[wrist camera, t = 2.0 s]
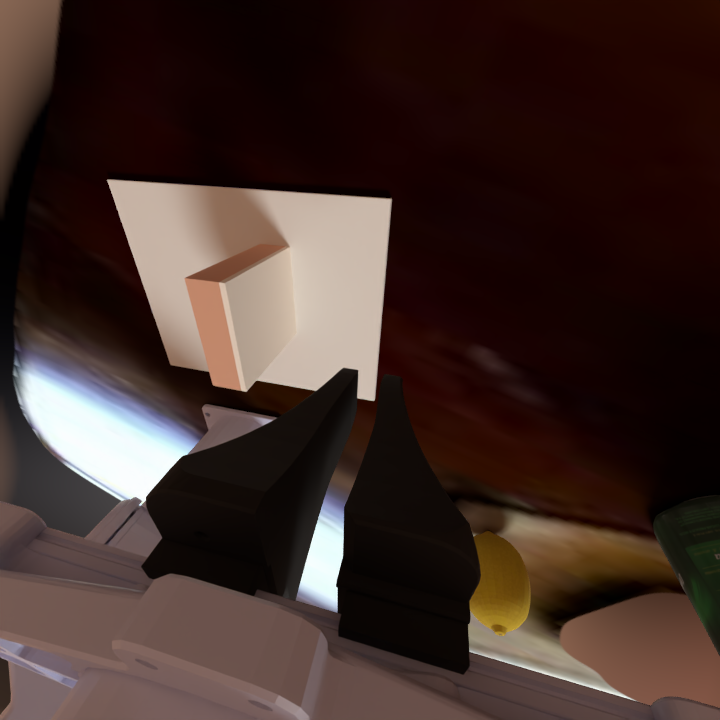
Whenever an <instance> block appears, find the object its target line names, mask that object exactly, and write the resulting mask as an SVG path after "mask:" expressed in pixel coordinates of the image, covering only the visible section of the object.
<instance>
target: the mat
mask: <svg viewBox="0 0 720 720" xmlns="http://www.w3.org/2000/svg"><path fill="white" fill-rule="evenodd" d="M107 181H108V184H109V187H110V189H111V192H112V195H113V198H114V201H115V204H116V207H117V210H118V213H119V216H120V219H121V222H122V224H123V227H124V230H125V233H126V236H127V239H128V242H129V245H130V248H131V251H132V254H133V257H134V259H135V262H136V265H137V268H138V271H139V274H140V277H141V280H142V283H143V286H144V289H145V292H146V294H147V297H148V300H149V303H150V306H151V309H152V312H153V315H154V318H155V321H156V324H157V327H158V329H159V332H160V335H161V338H162V341H163V344H164V347H165V350H166V353H167V356H168V359H169V362H170V364H171V365H173V366H179V367H185V368H190V369H196V370H202V371H207V372H209V369H208V365H207V361H206V358H205V354H204V350H203V346H202V343H201V339H200V335H199V331H198V328H197V324H196V320H195V316H194V313H193V309H192V305H191V301H190V298H189V294H188V290H187V286H186V283H185V279H184V278H186V277H188V276H190V275H192V274H194V273H197V272H199V271H201V270H203V269H206V268H208V267H210V266H212V265H214V264H217V263H219V262H221V261H223V260H226V259H228V258H230V257H232V256H234V255H237V254H239V253H241V252H243V251H246V250H248V249H250V248H252V247H254V246H257V245H259V244H266V245H276V246H286V247H290V252H291V265H292V278H293V291H294V304H295V316H296V329H297V333H296V335H295V336H294V337H293V338H292V339H291V340H290V342H289V343H288V344H287V345H286V346H285V347H284V349H283V350H282V351H281V352H280V353H279V354H278V356H277V357H276V358H275V359H274V360H273V361H272V363H271V364H270V365H269V366H268V367H267V368H266V370H265V371H264V372H263V373H262V374H261V375H260V377H259V378H258V379H257V380H258V381H264V382H270V383H275V384H281V385H287V386H292V387H298V388H303V389H309V390H315V391H317V390H318V389H319V388H320V387H321V386H323V385H324V384H325V383H326V382H327V381H329V380H330V379H331V378H332V377H333V376H334V375H335V374H336V373H337V372H339V371H340V370H341V369H342V368H349V369H355V370H358V392H357V398H360V399H366V400H371V401H374V400H375V393H376V381H377V370H378V358H379V346H380V334H381V322H382V310H383V299H384V287H385V275H386V263H387V251H388V240H389V228H390V216H391V204H392V198H377V197H363V196H348V195H333V194H319V193H304V192H289V191H275V190H260V189H245V188H231V187H216V186H201V185H187V184H172V183H157V182H143V181H128V180H114V179H112V180H107Z"/></svg>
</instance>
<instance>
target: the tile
mask: <svg viewBox="0 0 720 720" xmlns="http://www.w3.org/2000/svg"><path fill="white" fill-rule="evenodd" d="M184 279H185V283H186V286H187V290H188V294H189V298H190V301H191V305H192V309H193V313H194V316H195V320H196V324H197V328H198V331H199V335H200V339H201V343H202V346H203V350H204V354H205V358H206V361H207V365H208V369H209V373H210V376H211V380H212V384H213V386H218V387H223V388H229V389H234V390H240V391H245V392H247V390H248V389H249V388H250V387H251V386H252V385H253V383H254V382H255V381H256V380H257V379H258V378H259V377H260V375H261V374H262V373H263V372H264V371H265V370H266V368H267V367H268V366H269V365H270V364H271V363H272V361H273V360H274V359H275V358H276V357H277V356H278V354H279V353H280V352H281V351H282V350H283V349H284V347H285V346H286V345H287V344H288V343H289V342H290V340H291V339H292V338H293V337H294V336H295V335H296V333H297V329H296V316H295V304H294V291H293V278H292V265H291V252H290V247H286V246H276V245H266V244H259V245H257V246H254V247H252V248H250V249H248V250H246V251H243V252H241V253H239V254H237V255H234V256H232V257H230V258H228V259H226V260H223V261H221V262H219V263H217V264H214V265H212V266H210V267H208V268H206V269H203V270H201V271H199V272H197V273H194V274H192V275H190V276H188V277H186V278H184Z"/></svg>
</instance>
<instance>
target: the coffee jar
mask: <svg viewBox="0 0 720 720" xmlns="http://www.w3.org/2000/svg"><path fill="white" fill-rule="evenodd" d="M653 528H654V532H655V535H656V538H657V540H658V542H659V544H660V546H661V548H662V550H663V552H664V553H665V555H666V557H667V559H668V561H669V563H670V565H671V567H672V569H673V571H674V572H675V574H676V576H677V578H678V580H679V582H680V583H681V585H682V587H683V589H684V591H685V593H686V594H687V596H688V598H689V600H690V601H691V603H692V605H693V607H694V609H695V610H696V612H697V614H698V616H699V618H700V620H701V622H702V623H703V625H704V627H705V629H706V631H707V632H708V635H709V637H710V638H711V640H712V642H713V644H714V646H715V648H716V650H717V652H718V654H719V655H720V495H713V496H705V497H699V498H695V499H691V500H688V501H684V502H682V503H680V504H678V505H676V506H674V507H672V508H669V509H667V510H665V511H664V512H662V513H660V514H658V515H657V516H656V517H655V520H654V523H653Z"/></svg>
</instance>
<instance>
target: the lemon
mask: <svg viewBox="0 0 720 720" xmlns="http://www.w3.org/2000/svg"><path fill="white" fill-rule="evenodd" d="M473 538H474V541H475V545H476V549H477V553H478V558H479V563H480V571H481V577H480V582H479V584H478V586H477V588H476V590H475V592H474V594H473V596H472V598H471V599H470V610H471V612H472V613H473V614H474V616H475V617H476V618H477V619H478V620H479V621H480V622H481V623H482V624H484V625H485V626H486V627H488V628H490V629H492V630H493V631H494V632H495V634H497V635H499V636H504V635H505V634H506V632H509V631H512V630H515V629H516V628H518V627H519V626H520V625H521V624H522V623H523V622H524V621H525V619H526V618H527V615H528V612H529V607H530V582H529V577H528V573H527V570H526V567H525V565H524V562H523V560H522V558H521V556H520V554H519V553H518V551H517V550H516V549H515V548H514V547H513V546H512V545H511V544H510V543H509V542H508V541H507V540H505V539H504V538H502V537H500V536H498V535H494V534H493V533H492V532H490V531H485V532H484V533H483V534H479V535H476V536H474V537H473Z"/></svg>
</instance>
